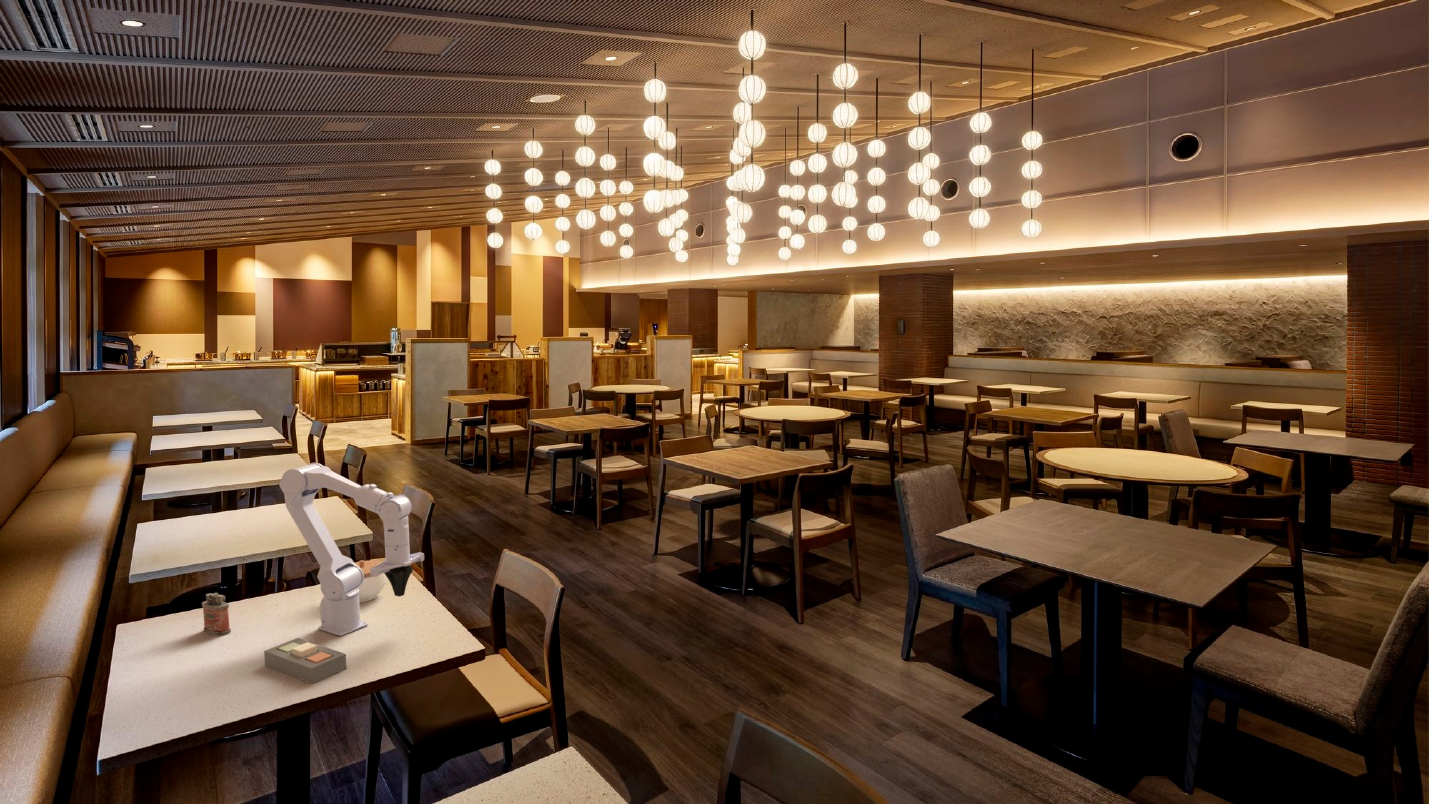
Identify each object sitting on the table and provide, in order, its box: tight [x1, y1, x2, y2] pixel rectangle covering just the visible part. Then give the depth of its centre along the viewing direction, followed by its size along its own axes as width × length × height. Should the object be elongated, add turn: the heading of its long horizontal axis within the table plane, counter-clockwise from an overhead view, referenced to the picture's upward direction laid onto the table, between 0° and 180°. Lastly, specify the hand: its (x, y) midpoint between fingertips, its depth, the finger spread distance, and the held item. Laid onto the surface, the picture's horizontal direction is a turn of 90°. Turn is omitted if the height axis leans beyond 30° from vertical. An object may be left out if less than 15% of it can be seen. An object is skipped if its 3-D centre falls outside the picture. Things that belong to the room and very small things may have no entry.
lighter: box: [201, 592, 231, 637], centre depth 182 cm, size 8×3×10 cm, turn 68°
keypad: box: [263, 637, 347, 685], centre depth 163 cm, size 18×8×4 cm, turn 62°
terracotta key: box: [307, 652, 332, 664], centre depth 161 cm, size 4×4×2 cm
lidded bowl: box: [354, 559, 387, 603], centre depth 205 cm, size 13×13×11 cm
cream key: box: [292, 642, 317, 658], centre depth 163 cm, size 4×4×2 cm
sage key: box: [278, 642, 300, 653], centre depth 166 cm, size 4×4×2 cm
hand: (399, 595), depth 183 cm, fingers closed
